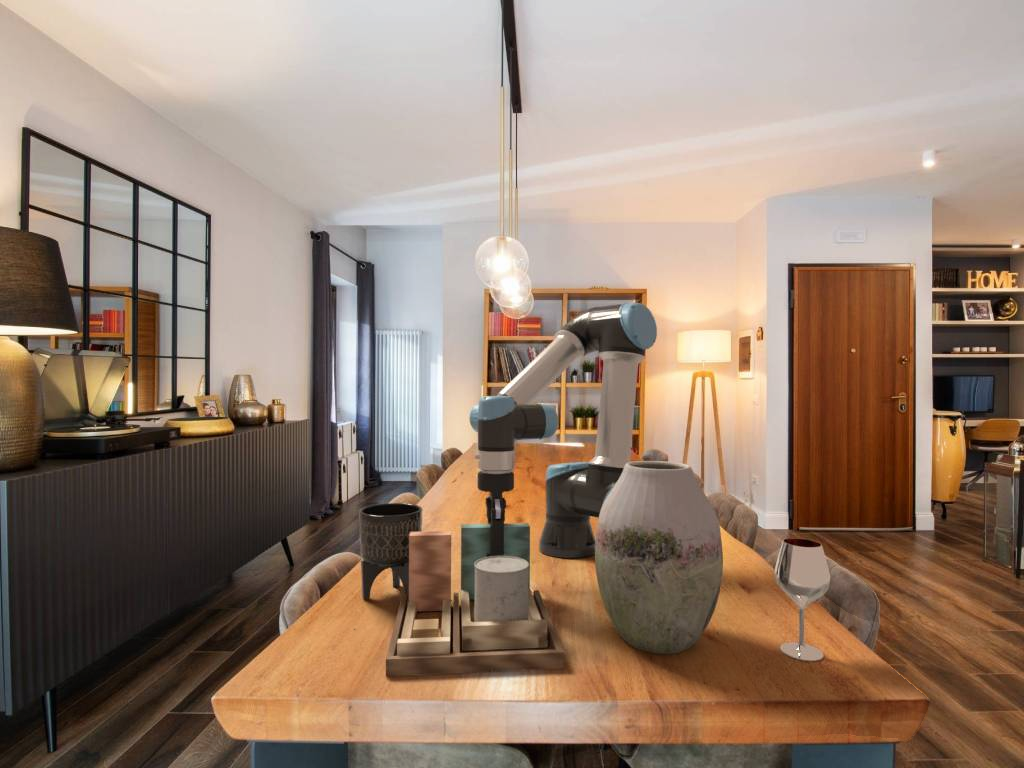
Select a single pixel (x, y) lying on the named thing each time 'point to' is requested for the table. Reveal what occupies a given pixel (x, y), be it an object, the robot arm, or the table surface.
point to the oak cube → (425, 628)
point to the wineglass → (802, 586)
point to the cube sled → (428, 591)
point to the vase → (658, 556)
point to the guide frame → (472, 660)
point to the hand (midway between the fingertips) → (495, 584)
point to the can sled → (474, 633)
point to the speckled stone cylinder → (501, 589)
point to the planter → (387, 542)
